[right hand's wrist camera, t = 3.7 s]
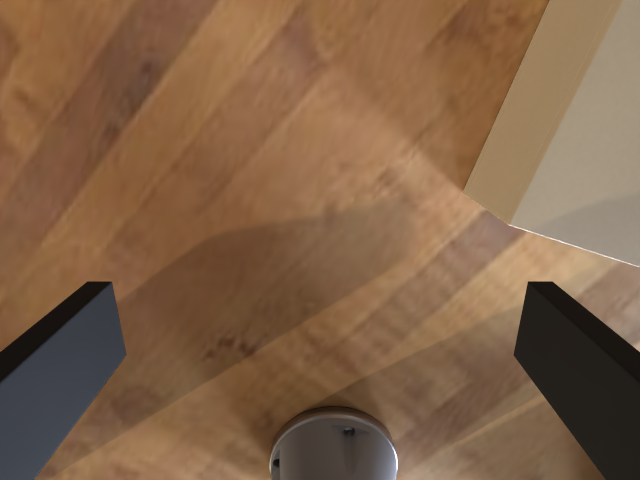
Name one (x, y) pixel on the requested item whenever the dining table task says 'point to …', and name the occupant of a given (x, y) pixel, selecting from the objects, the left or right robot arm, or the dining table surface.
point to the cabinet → (571, 132)
